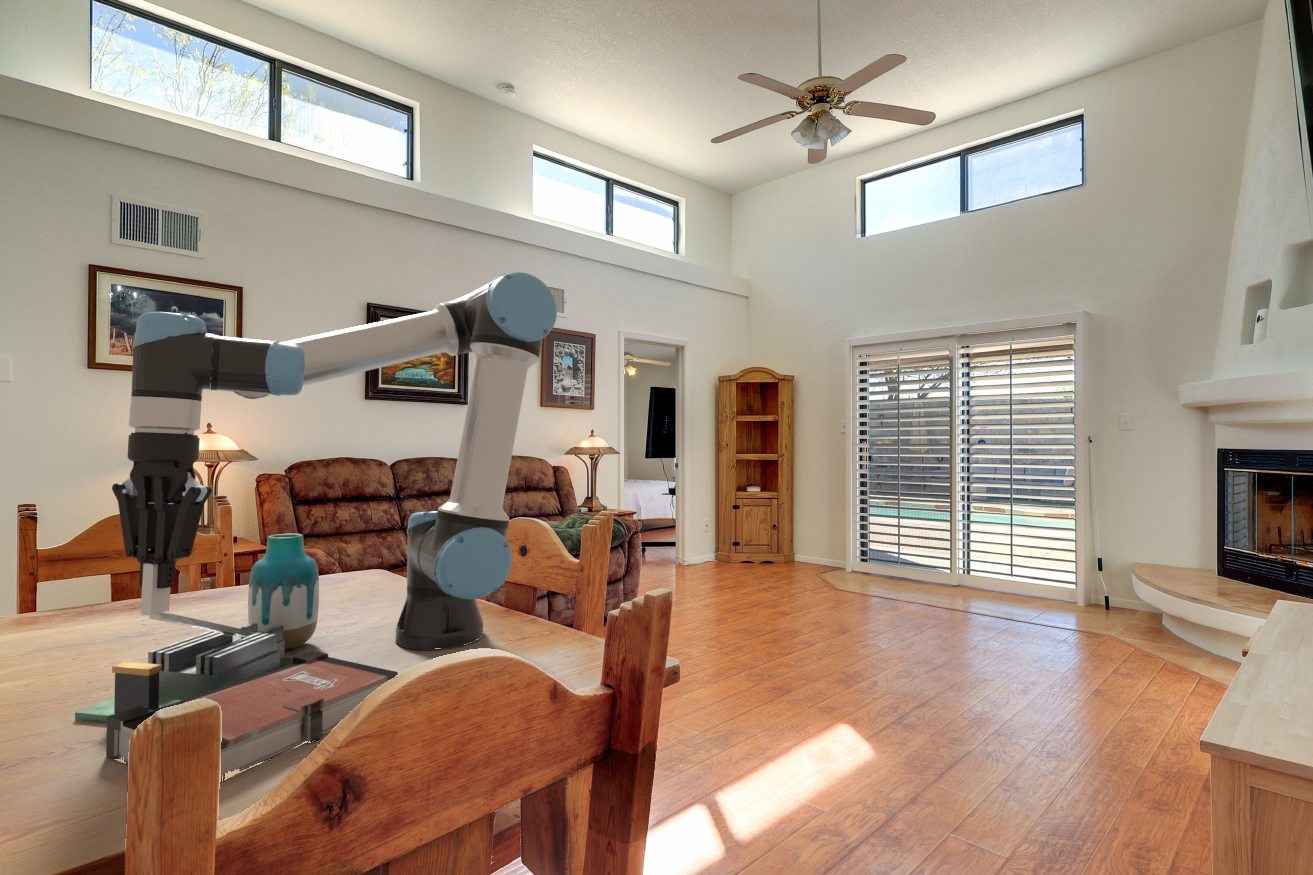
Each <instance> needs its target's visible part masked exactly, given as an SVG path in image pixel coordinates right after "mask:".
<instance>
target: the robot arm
mask: <svg viewBox="0 0 1313 875" xmlns="http://www.w3.org/2000/svg"><path fill="white" fill-rule="evenodd" d="M557 307H558V306H557V304H556V300H555V297H554V295H553V292H551V290H550V289H549V288H548V286H547V285H546V283H544V281H543V280H542V279H540V278H538V277H536V275H533V274H530V273H527V272H522V271H515V272H514V271H513V272H510V273H503V274H500V275H498V276H496V277H495V278H494V279H493V280H492V281H491V282H488V283H486V284H484V285H483V286H481V287H478V288H476V289H475V290H473V291H472V292H469V293H467V294H465V295H463V296H461V297H459V298H455V299H453V300H450V301H445V302H440V303H436V305H435V306H434V309H433V310H430V311H425V312H421V313H416V314H412V315H406V316H400V317H397V318H392V319H387V320H383V321H382V320H381V321H378V322H377V321H376V322H372V323H368V324H364V325H363V324H362V325H358V326H354V327H349V328H343V329H340V330H339V329H338V330H334V331H330V332H324V333H320V334H315V335H310V336H305V337H301V338H295V339H291V340H287V341H280V340H274V341H273V340H266V339H263V340H262V339H252V338H244V337H243V338H241V337H233V336H222V335H218V334H217V335H216V334H213V333H208V330H207V325H206V321H204V319H202V318H199V317H197V316H194V315H189V314H188V315H187V314H182V313H175V312H165V311H150V312H149V311H148V312H144V313H142V314H141V315H140V316H138V318H137V320H136V325H135V333H134V335H135V336H134V343H133V344H132V345H133V346H132V372H131V376H132V377H131V394H130V395H131V397H130V407H129V419H128V420H129V422H128V426H129V427H130V428H132V429H134V432H131V433H130V434H128V442H127V456H126V457H127V459H128V460H129V461H132V462H133V466H132V468H131V470H130V471H129V478H128V479H126V480H125V481H123V482H121V483H120V482H119V483H115V482H114V484H113V485H112V487H111V491H112V493H113V494H114V497H115V498H116V500H117V504H118V510H119V518H120V524H121V525H120V526H121V532H122V539H123V544H124V545H123V546H124V551H125V552H124V553H125V556H126V557H128V558H133V559H136V560H137V562H139V577H138V578H139V580H138V584H139V587H140V588H141V603H140V615H141V616H148V617H149V616H151V615H155V614H159V613H166V612H167V613H168V612H170V604H171V602H170V601H171V588H173V587H174V585H175V577H176V576H175V575H176V563H177V561H180V560H182V559H185V558H189V557H190V556H191V555H192V552H193V548H194V544H195V539H196V537H197V532H198V528H199V524H200V522H201V518H202V514H203V511H204V508H205V507H204V506H205V504H206V502H207V500H208V499H209V497H210V496H211V494H212V492H213V489H212V487H211V486H209V485H204V486H203V485H202V484H201V483H200V482H199V481H197V480H196V476H197V474H196V473H195V472H196V471H195V470H194V464H195V463H196V462H197V461H198V460H199V457H200V439H201V437H199V435H196V434H195V431H199V430H200V429H201V413H202V400H203V398H202V397H203V396H202V395H203V391H204V390H209V391H222V392H223V391H224V392H233V393H234V394H236V395H238V396H240V397H242V398H244V399H250V400H255V399H261V398H266V397H268V396H270V395H272V396H275V397H276V396H277V397H280V396H296V395H298V394H300V393H301V392H302V389H303V387H305V386H308V385H312V384H317V383H318V384H319V383H323V382H325V381H330V380H333V379H334V380H335V379H338V378H342V377H347V376H350V375H354V374H358V373H363V372H367V371H371V370H377V369H380V368H384V367H388V366H392V365H397V364H401V363H404V362H408V361H409V362H410V361H413V360H417V359H418V360H419V359H423V358H425V357H431V356H434V355H437V354H443V353H446V354H447V355H449V356H450V357H451V356H452V357H454V356H458V355H462V354H463V355H464V354H469V353H473V354H474V356H475V357H476V361H475V367H474V372H473V377H472V382H471V388H470V393H469V398H468V402H467V408H466V413H465V419H464V424H463V429H462V435H461V438H460V439H461V440H460V444H459V450H458V455H457V458H456V459H457V460H456V463H455V464H456V466H455V471H454V475H453V480H452V487H451V492H450V497H449V499H448V500H447V501H446V502H445V503H443V504H442V505H440V506H439V507H438V509H437V511H419V512H415V513H412V514H410V516H409V518H408V523H407V528H406V534H407V553H406V555H407V556H406V557H407V560H406V561H407V562H406V575H407V576H406V597H405V601H404V604H403V607H402V610H401V612H400V615H399V618H398V621H397V624H396V627H395V643H396V644H398V645H399V646H400V647H403V648H407V649H414V650H425V649H426V651H427V649H435V648H441V649H440V650H446V649H445V648H447V649H453V648H459V647H463V646H465V645H464V644H467V643H470V642H473V641H475V640H476V639H478V638H480V637H481V636H482V635H483V636H484V620H483V618H482V614H481V611H480V609H479V606H478V602H477V599H481V598H484V597H487V596H490V595H491V594H492V593H494V592H495V591H497V589H499V588H500V587H501V586H502V585H503V584H504V582H505V581H506V579H507V578H508V576H509V574H510V572H511V568H512V563H513V555H512V554H513V553H512V549H511V547H510V545H509V542H508V541H507V535H508V529H509V522H510V517H509V515H508V514H507V512H506V511H505V510H504V507H503V506H504V499H505V495H506V490H507V489H506V488H507V484H508V478H509V472H510V466H511V463H512V462H511V461H512V457H513V450H514V445H515V440H516V436H517V429H518V424H519V419H520V413H521V407H522V401H523V396H524V392H525V387H526V380H527V374H528V370H529V369H530V368H531V367H532V366H533V365H535V364H537V363H538V362H539V360H540V356H541V350H542V344H543V339H544V338H546V337H547V336H548V335H549V334H550V333H551V331H552V330H553V329H554V326H555V324H556V321H557V315H558V310H557V309H558V308H557ZM483 636H482V637H483ZM482 637H481V638H482ZM481 638H480V639H481ZM475 642H476V641H475ZM473 643H474V642H473ZM470 644H471V643H470ZM462 645H463V646H462ZM467 645H468V644H467ZM458 646H459V647H458ZM435 650H436V649H435Z"/></svg>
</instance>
